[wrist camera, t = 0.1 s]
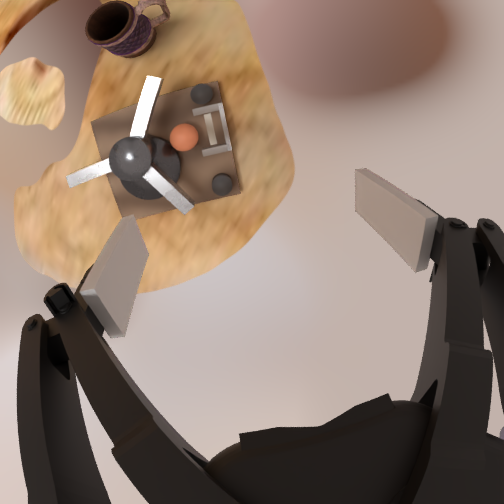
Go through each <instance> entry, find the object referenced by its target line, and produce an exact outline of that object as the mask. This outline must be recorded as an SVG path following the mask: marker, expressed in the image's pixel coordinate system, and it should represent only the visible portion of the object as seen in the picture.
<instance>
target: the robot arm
mask: <svg viewBox="0 0 504 504" xmlns="http://www.w3.org/2000/svg"><path fill="white" fill-rule="evenodd" d="M355 211H356V212H357V213H358V214H359V215H360V216H361V217H362V218H363V219H364V220H365V221H366V222H367V223H368V224H369V225H370V226H371V227H372V228H373V229H374V230H375V231H376V232H377V233H378V234H379V235H380V236H381V237H382V238H383V239H384V240H385V241H386V242H387V243H388V244H389V245H390V246H391V247H392V248H393V249H394V250H395V251H396V252H397V253H398V254H399V255H400V256H401V257H402V259H403V260H404V261H405V262H406V263H407V264H408V265H409V266H410V267H411V268H412V269H413V271H414V272H419V271H422V270H425V269H427V267H428V263H429V259H430V258H431V259H432V260H433V261H434V262H435V263H434V266H433V270H432V274H431V277H430V281H429V282H432V292H431V303H430V312H429V320H428V327H427V334H426V340H425V346H424V352H423V357H422V362H421V367H420V371H419V376H418V380H417V384H416V388H415V391H414V393H413V396H412V398H411V400H410V401H405V400H399V401H392V400H391V398H390V396H389V394H388V393H387V394H385V395H383V396H380V397H378V398H375V399H372V400H370V401H367V402H364V403H362V404H359V405H356V406H354V407H353V408H351V409H349V410H348V411H346V412H344V413H343V414H341V415H340V416H338V417H336V418H334V419H333V420H331V421H329V422H327V423H326V424H324V425H322V426H318V427H276V428H270V429H265V430H259V431H253V432H247V433H240V434H239V436H240V442H238V443H236V444H234V445H232V446H230V447H228V448H226V449H225V450H223V451H222V452H220V453H218V454H217V455H216V456H215V457H213V458H212V459H211V461H208V460H207V459H206V458H204V457H203V456H202V455H201V454H200V453H198V452H197V451H196V450H195V449H194V448H193V447H192V446H191V445H189V444H188V443H187V442H186V441H185V440H184V439H183V438H182V436H181V435H180V434H179V433H178V432H177V431H176V430H175V429H174V428H173V427H172V426H171V425H170V424H169V423H168V422H167V421H166V419H165V418H164V417H163V416H162V415H161V414H160V413H159V411H158V410H157V409H156V408H155V407H154V406H153V405H152V403H151V402H150V401H149V400H148V399H147V397H146V396H145V395H144V393H143V392H142V391H141V390H140V388H139V387H138V386H137V385H136V383H135V382H134V381H133V379H132V378H131V377H130V375H129V374H128V373H127V371H126V370H125V368H124V367H123V366H122V364H121V363H120V361H119V360H118V358H117V357H116V356H115V354H114V353H113V351H112V350H111V348H110V347H109V345H108V344H107V342H106V341H105V339H104V338H103V337H102V335H103V332H104V330H105V331H106V332H107V334H108V335H109V336H110V338H118V337H125V334H126V330H127V326H128V322H129V318H130V315H131V311H132V308H133V304H134V300H135V297H136V294H137V290H138V287H139V284H140V280H141V277H142V274H143V271H144V268H145V265H146V262H147V259H148V256H149V253H148V250H147V248H146V245H145V243H144V240H143V238H142V235H141V233H140V230H139V228H138V225H137V222H136V220H135V217H134V214H133V215H130V216H126V217H123V218H122V219H121V220H120V222H119V223H118V225H117V226H116V228H115V230H114V231H113V233H112V234H111V236H110V238H109V239H108V241H107V243H106V244H105V246H104V248H103V249H102V251H101V253H100V255H99V256H98V258H97V260H96V262H95V263H94V264H93V265H92V266H91V267H90V268H89V269H88V270H87V271H86V273H85V275H84V277H83V279H82V280H81V282H80V284H79V286H78V288H77V290H76V292H75V294H73V293H72V291H71V290H70V288H69V286H68V285H67V284H66V283H60V284H58V285H56V286H54V287H53V288H51V289H50V290H49V291H48V293H47V294H46V295H45V297H44V303H45V304H46V306H47V307H48V309H49V310H50V311H51V313H52V314H53V316H54V318H52V319H49V320H47V321H45V320H44V319H43V317H42V316H41V315H40V314H35V315H33V316H32V317H29V318H28V320H27V321H26V322H25V324H24V326H23V328H22V335H21V342H20V351H19V361H18V374H17V422H18V435H19V445H20V453H21V461H22V467H23V472H24V477H25V482H26V487H27V491H28V504H111V502H110V499H109V497H108V493H107V491H106V489H105V486H104V483H103V481H102V478H101V475H100V473H99V470H98V467H97V464H96V461H95V458H94V455H93V452H92V449H91V445H90V441H89V438H88V434H87V430H86V426H85V422H84V418H83V414H82V409H81V404H80V399H79V394H78V388H77V382H76V376H77V378H78V380H79V382H80V384H81V386H82V388H83V390H84V392H85V395H86V396H87V398H88V400H89V402H90V404H91V406H92V408H93V410H94V412H95V413H96V415H97V417H98V419H99V421H100V422H101V424H102V426H103V427H104V429H105V431H106V432H107V434H108V436H109V437H110V439H111V440H112V442H113V444H114V448H112V449H111V450H112V454H113V456H114V458H115V460H116V461H117V463H118V464H119V465H120V467H121V468H122V470H123V471H124V473H125V474H126V475H127V477H128V478H129V479H130V481H131V482H132V483H133V485H134V486H135V487H136V488H137V490H138V491H139V492H140V494H141V495H142V496H143V497H144V498H145V500H146V501H147V502H148V503H149V504H504V427H503V428H502V429H501V431H500V438H498V437H496V436H493V435H491V434H489V433H487V427H488V420H489V412H490V404H491V393H492V377H493V357H494V363H495V367H496V373H497V379H498V385H499V392H500V398H501V404H502V409H503V413H504V233H503V231H502V230H501V229H500V227H499V226H498V225H497V224H496V223H494V222H493V221H492V220H490V219H484V218H482V219H479V220H478V223H477V228H469V227H468V225H467V224H466V223H465V222H463V221H462V220H460V219H456V218H446V219H444V218H443V217H442V216H440V215H439V214H438V213H436V212H435V211H434V210H432V209H431V208H429V207H428V206H426V205H425V204H424V203H422V202H421V201H419V200H417V199H414V198H413V197H411V196H410V195H408V194H407V193H405V192H404V191H402V190H401V189H399V188H397V187H396V186H394V185H393V184H391V183H390V182H388V181H386V180H385V179H383V178H381V177H380V176H378V175H376V174H375V173H373V172H371V171H370V170H368V169H366V168H364V169H356V170H355ZM489 264H490V266H489ZM483 319H484V322H485V325H486V329H487V333H488V336H489V341H490V345H491V349H492V352H491V351H490V350H485V349H484V337H483V336H484V334H483ZM492 353H493V356H492ZM75 373H76V375H75Z"/></svg>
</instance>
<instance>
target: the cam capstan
mask: <svg viewBox="0 0 504 504" xmlns="http://www.w3.org/2000/svg"><path fill="white" fill-rule="evenodd" d="M163 81H164V79H162V78H157V77H152V76H147V79H146V82H145V85H144V88H143V91H142V94H141V97H140V101H139V104H138V107H137V111H136V115H135V118H134V122H133V126H132V130H131V134H130V137H125V138H123V139H121V140H119V141H118V142H116V143H115V144H114V145H113V147H112V149H111V151H110V154H109V157H108V158H106V159H103V160H100V161H98V162H95V163H93V164H91V165H88V166H86V167H84V168H81V169H79V170H77V171H74V172H72V173H70V174H69V175H67V176H66V179H67V181H68V184H69V187H70V188H72V187H74V186H76V185H79V184H81V183H83V182H86V181H88V180H91V179H93V178H96V177H99V176H101V175H104V174H107V173H109V172H113V173H114V174H115V176H117V177H118V178H120V181H121V183H122V185H123V186H124V188H125V189H126V190H127V191H128V192H129V193H130V194H132V195H133V196H135V197H137V198H140V199H144V200H154V199H158V198H161V197H163V196H164V197H165V198H166V199H167V200H169V201H170V202H171V203H172V204H173V205H174V206H175V207H176V208H177V209H178V210H180V211H181V212H182V213H183V214H184V215H185V214H186V213H187V212H188V211H190V210H191V209H192V208H193V207H194V203H195V201H194V200H193V199H192V198H191V197H190V196H189V195H188V194H187V193H186V192H184V191H183V190H182V189H181V188H180V187H179V186H178V185H177V184H176V183H177V181H178V179H179V176H180V172H181V160H180V156H179V154H178V152H177V150H176V149H175V148H174V147H173V146H172V145H171V143H170V142H168V141H167V140H165V139H163V138H160V137H156V136H153V135H151V134H148V130H149V126H150V122H151V119H152V115H153V112H154V109H155V105H156V102H157V99H158V96H159V93H160V90H161V87H162V84H163Z"/></svg>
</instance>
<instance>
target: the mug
mask: <svg viewBox="0 0 504 504" xmlns="http://www.w3.org/2000/svg"><path fill="white" fill-rule="evenodd" d="M156 4H157V5H160V6H161V8H162V11H163V12H164V13H163V14H162V15H160V16H158V17H156V18H154V19H152V20H150V19H148V18H147V17H146V16H144V15H143V14H141V13H142V12H143V10H144V9H145V8H146V7H148V6H151V5H156ZM169 18H170V11H169V9H168V7H167V5H166V1H165V0H140V1H138V5H137V6H136V7H133V6H131V5H130V4H128V3H126V2H124V1H110V2H107V3H105V4H103V5H101V6H100V7H98V8H97V9H96V10H95V11H94V12H93V13H92V14H91V15H90V17H89V19H88V21H87V23H86V27H85V31H86V36H87V37H88V39H89V40H90V41H91V42H93V43H94V44H96V45H97V46H101V47H103V48H105V49H107V50H108V51H110V52H111V53H113V54H115V55H117V56H121V57H125V58H133V57H136V56H139V55H141V54H143V53H145V52H146V51H147V50H148V49H149V48H150V47H151V46H152V44H153V42H154V41H155V37H156V30H155V27H156V26H158V25H160V24H162V23H164V22H166V21H167V20H169Z"/></svg>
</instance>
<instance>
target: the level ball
mask: <svg viewBox="0 0 504 504" xmlns="http://www.w3.org/2000/svg"><path fill="white" fill-rule="evenodd" d="M197 142H198V132H197V130H196V128H195V127H194V126H192V125H190V124H185V123H184V124H179V125H177V126H176V127H175V128H174V129H173V130H172V131H171V134H170V143H171V145H172V146H173V147H174V148H175V149H176V150H178V151H188V150H191V149H192V148H193V147H194V146H195V145H196V144H197Z"/></svg>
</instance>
